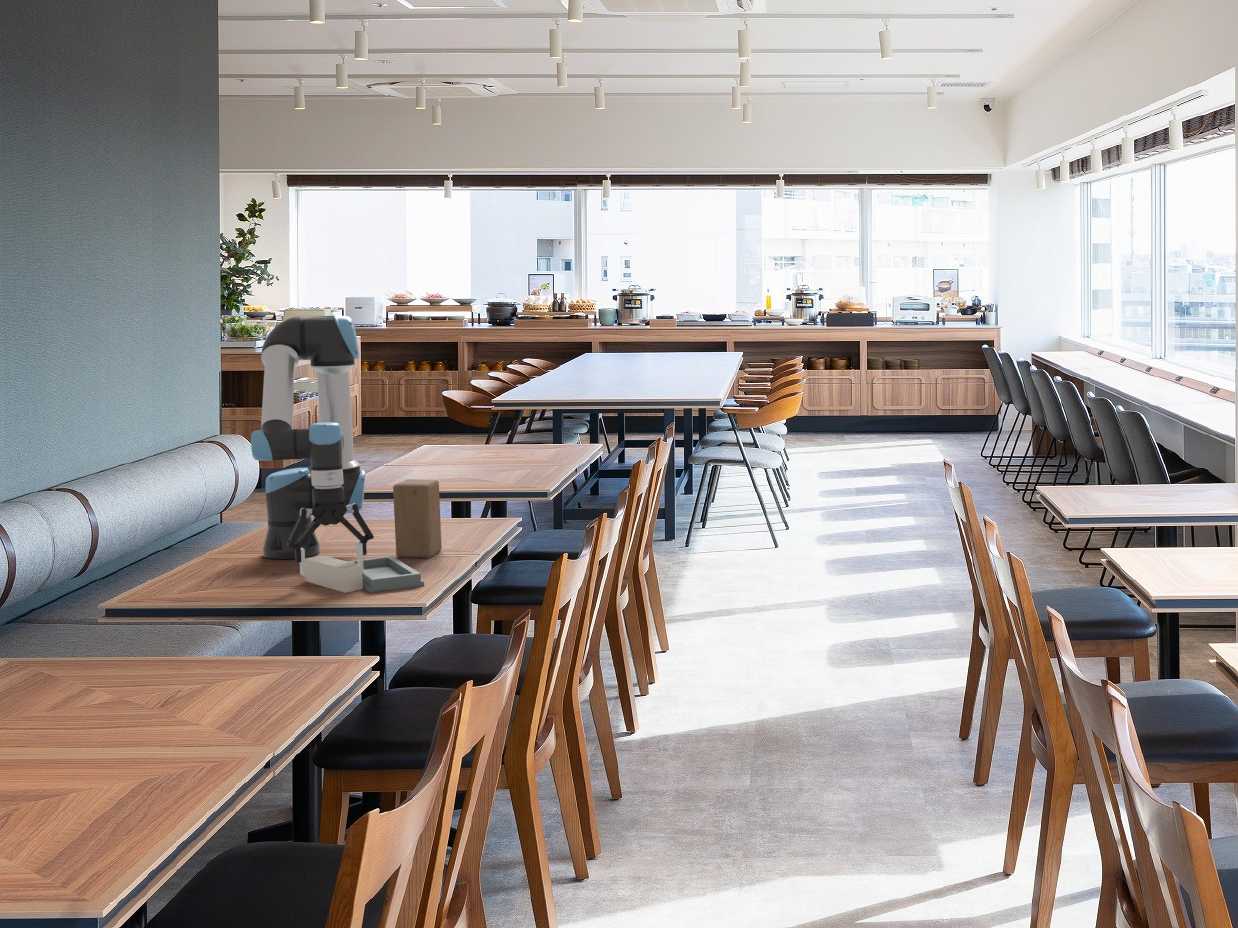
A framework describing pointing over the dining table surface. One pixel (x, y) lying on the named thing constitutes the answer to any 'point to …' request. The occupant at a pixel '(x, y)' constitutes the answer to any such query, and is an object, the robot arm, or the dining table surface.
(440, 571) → the dining table surface
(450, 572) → the dining table surface
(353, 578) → the cream rectangular bar
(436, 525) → the wooden block
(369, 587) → the tray
